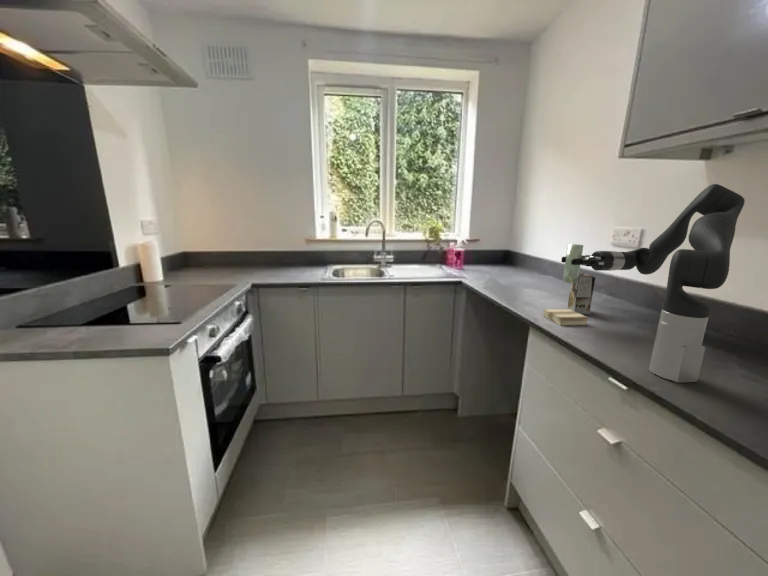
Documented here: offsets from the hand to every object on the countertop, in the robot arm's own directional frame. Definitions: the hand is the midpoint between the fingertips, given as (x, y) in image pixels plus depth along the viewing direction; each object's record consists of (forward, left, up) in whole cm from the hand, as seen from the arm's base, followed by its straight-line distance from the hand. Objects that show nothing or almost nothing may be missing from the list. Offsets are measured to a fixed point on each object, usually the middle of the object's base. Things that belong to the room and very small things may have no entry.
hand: (567, 260), depth 132 cm
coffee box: (+12, -17, -24) cm, 32 cm away
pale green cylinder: (0, -3, -8) cm, 8 cm away
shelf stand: (0, -2, -24) cm, 24 cm away
